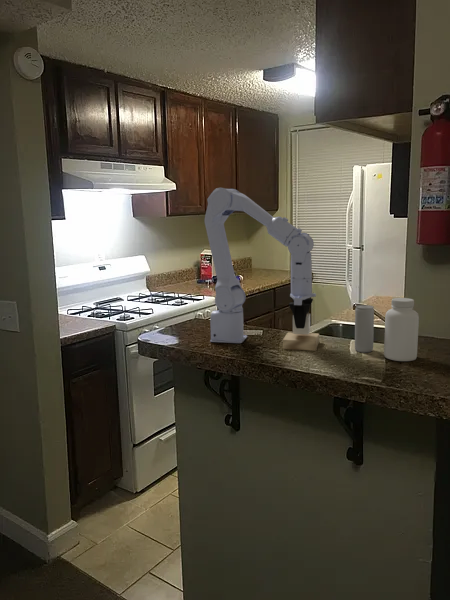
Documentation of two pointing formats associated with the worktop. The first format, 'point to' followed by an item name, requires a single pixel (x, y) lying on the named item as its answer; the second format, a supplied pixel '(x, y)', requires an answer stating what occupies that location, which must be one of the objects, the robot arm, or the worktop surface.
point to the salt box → (306, 327)
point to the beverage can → (364, 328)
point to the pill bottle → (401, 330)
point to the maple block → (301, 341)
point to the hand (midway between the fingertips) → (301, 326)
